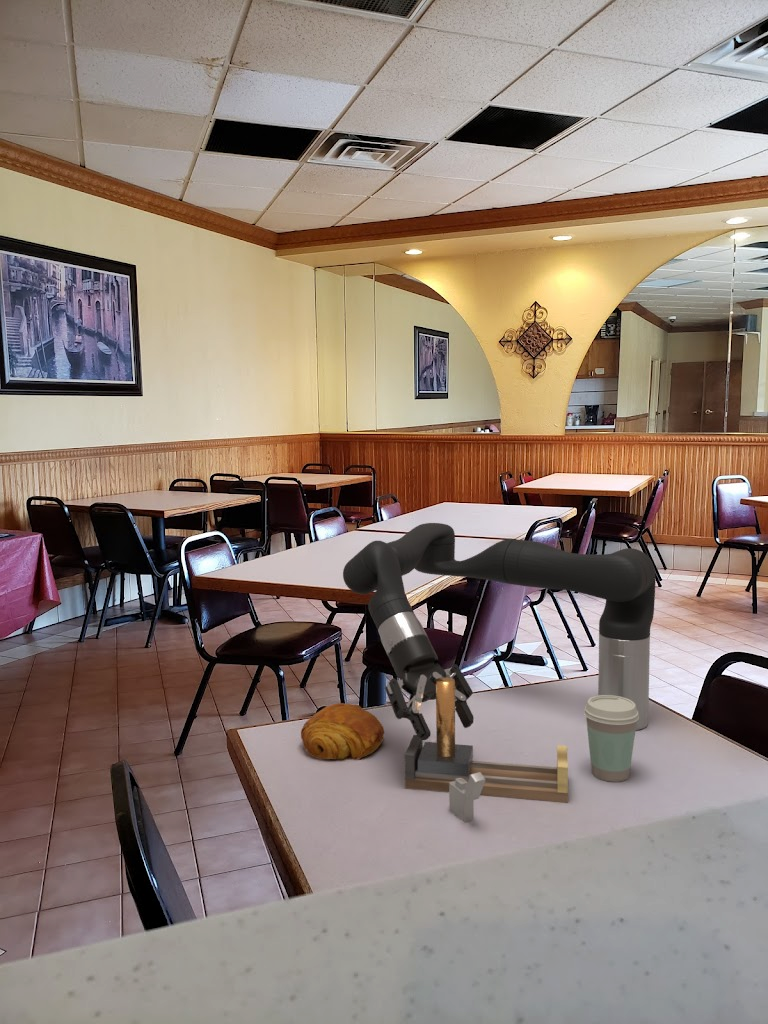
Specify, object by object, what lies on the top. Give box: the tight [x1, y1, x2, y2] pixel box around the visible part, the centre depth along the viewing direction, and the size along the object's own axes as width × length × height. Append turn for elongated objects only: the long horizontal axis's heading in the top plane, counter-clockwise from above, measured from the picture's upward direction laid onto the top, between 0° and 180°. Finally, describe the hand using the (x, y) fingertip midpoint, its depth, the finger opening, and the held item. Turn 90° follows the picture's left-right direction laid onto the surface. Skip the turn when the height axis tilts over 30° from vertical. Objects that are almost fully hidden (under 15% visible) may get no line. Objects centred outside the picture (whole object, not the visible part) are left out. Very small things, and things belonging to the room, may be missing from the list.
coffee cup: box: [583, 695, 639, 783], centre depth 122 cm, size 8×8×12 cm
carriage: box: [418, 677, 474, 776], centre depth 120 cm, size 7×8×14 cm
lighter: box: [448, 772, 485, 823], centre depth 108 cm, size 7×2×8 cm, turn 27°
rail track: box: [404, 734, 569, 804], centre depth 119 cm, size 8×25×6 cm, turn 78°
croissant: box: [300, 702, 385, 760], centre depth 135 cm, size 14×16×8 cm
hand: (448, 731), depth 119 cm, fingers open, 8 cm apart
